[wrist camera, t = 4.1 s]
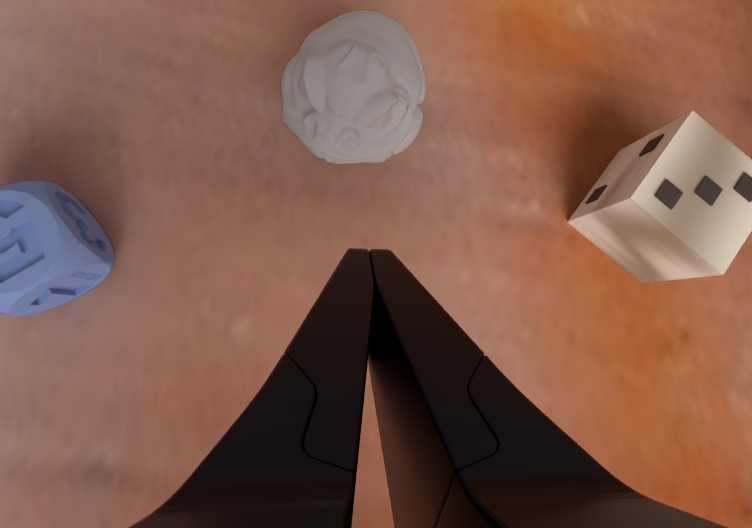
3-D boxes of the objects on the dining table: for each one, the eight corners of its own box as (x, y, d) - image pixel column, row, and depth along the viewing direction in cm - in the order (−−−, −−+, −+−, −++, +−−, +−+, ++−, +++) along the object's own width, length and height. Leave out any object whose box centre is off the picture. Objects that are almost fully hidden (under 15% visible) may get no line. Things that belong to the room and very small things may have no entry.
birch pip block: (689, 210, 25) (783, 183, 20) (640, 283, 24) (725, 274, 19) (616, 149, 25) (692, 107, 20) (564, 221, 24) (630, 195, 19)
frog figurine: (263, 166, 22) (237, 100, 15) (321, 43, 23) (321, -71, 16) (379, 217, 23) (405, 174, 16) (431, 94, 24) (477, 3, 17)
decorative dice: (45, 317, 20) (-20, 318, 17) (-3, 241, 21) (-80, 224, 17) (128, 267, 21) (84, 257, 17) (80, 194, 21) (26, 167, 17)
